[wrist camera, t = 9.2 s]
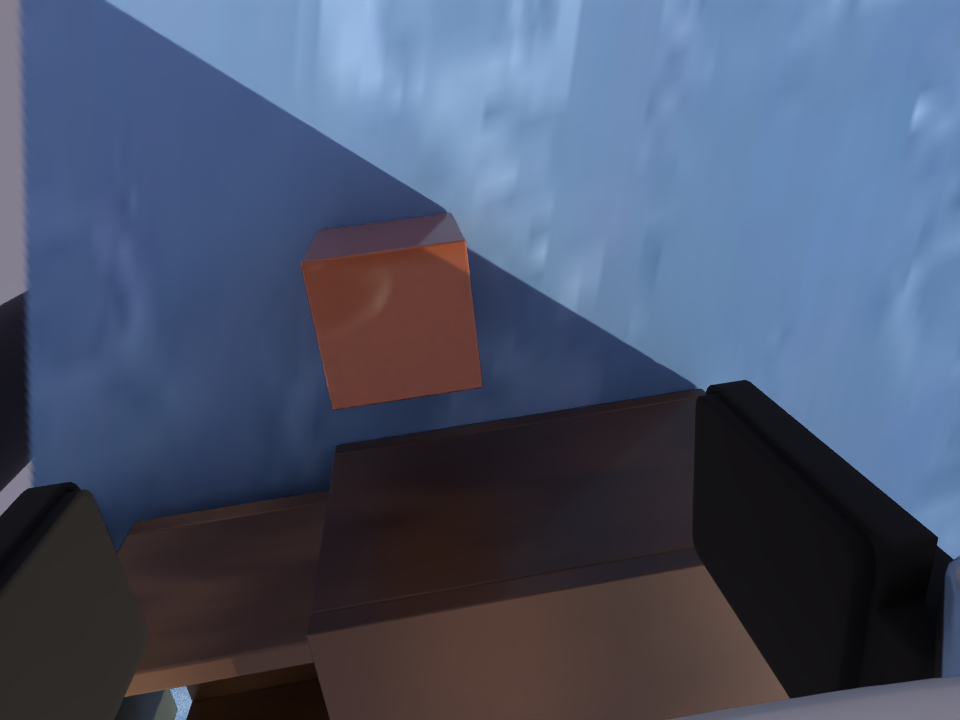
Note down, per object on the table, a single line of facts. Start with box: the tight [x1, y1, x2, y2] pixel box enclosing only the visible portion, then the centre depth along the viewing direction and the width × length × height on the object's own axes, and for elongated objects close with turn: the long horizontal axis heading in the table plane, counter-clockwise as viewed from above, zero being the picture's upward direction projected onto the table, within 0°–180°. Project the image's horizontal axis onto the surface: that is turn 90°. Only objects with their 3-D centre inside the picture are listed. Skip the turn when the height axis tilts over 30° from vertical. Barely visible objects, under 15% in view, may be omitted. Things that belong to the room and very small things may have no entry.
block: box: [301, 213, 483, 410], centre depth 20 cm, size 4×4×4 cm
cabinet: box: [306, 389, 790, 720], centre depth 23 cm, size 14×11×9 cm
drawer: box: [114, 490, 330, 720], centre depth 22 cm, size 18×10×8 cm, turn 97°
